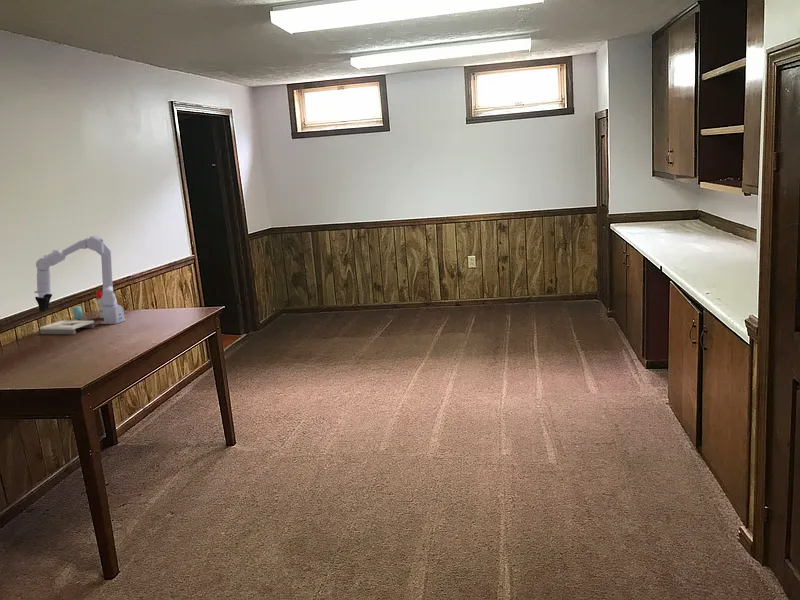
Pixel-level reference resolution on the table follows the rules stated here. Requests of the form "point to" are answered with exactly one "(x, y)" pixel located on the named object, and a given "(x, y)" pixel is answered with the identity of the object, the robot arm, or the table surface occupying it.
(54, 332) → the board
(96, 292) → the ink box
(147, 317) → the table surface
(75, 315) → the peg
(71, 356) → the table surface
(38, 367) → the table surface
